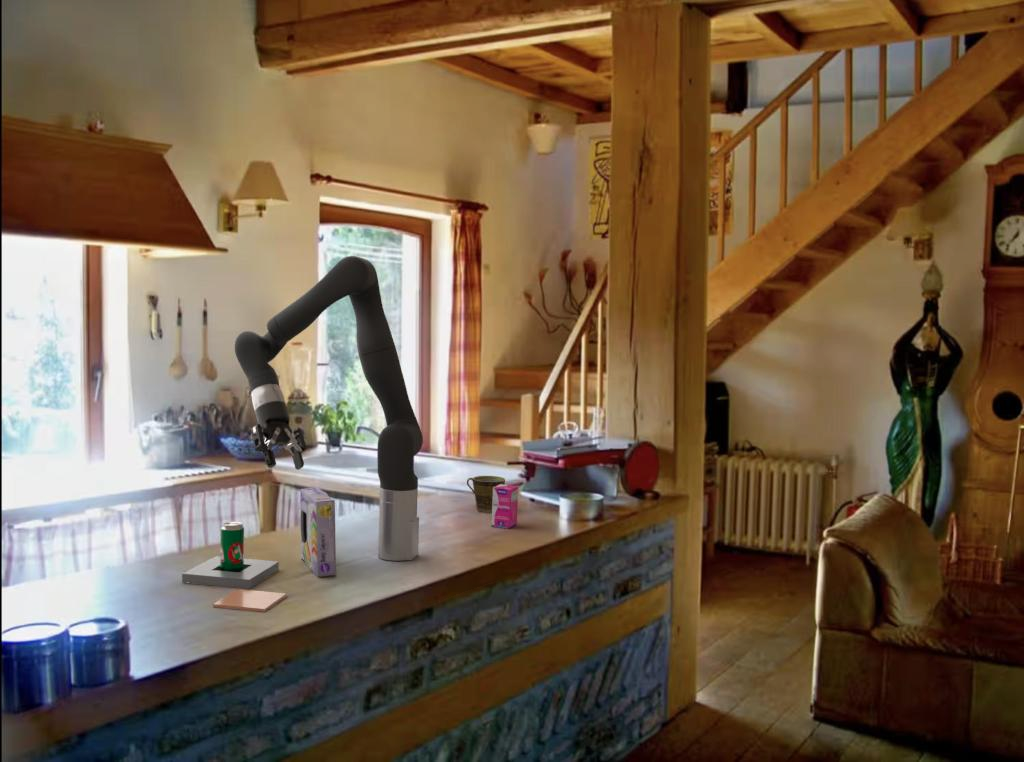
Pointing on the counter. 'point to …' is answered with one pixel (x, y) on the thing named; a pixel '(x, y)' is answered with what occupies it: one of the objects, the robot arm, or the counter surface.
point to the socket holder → (230, 573)
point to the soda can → (232, 547)
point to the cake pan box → (318, 531)
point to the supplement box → (504, 506)
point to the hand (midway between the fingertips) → (286, 467)
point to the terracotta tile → (250, 600)
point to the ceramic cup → (485, 491)
